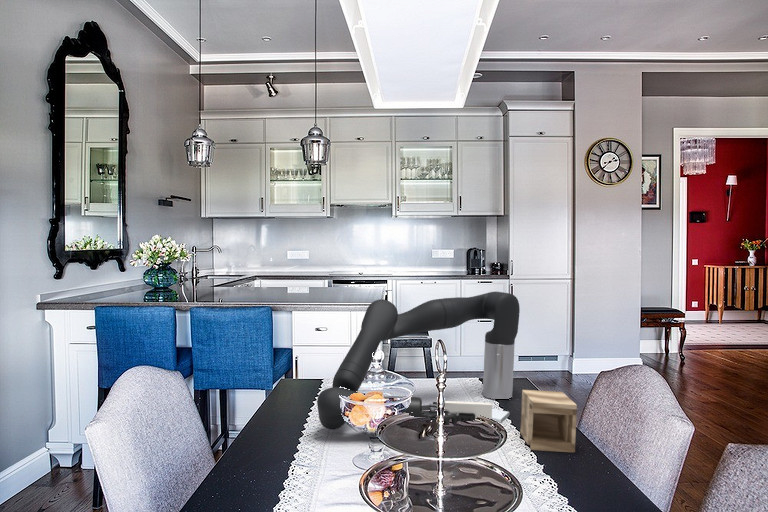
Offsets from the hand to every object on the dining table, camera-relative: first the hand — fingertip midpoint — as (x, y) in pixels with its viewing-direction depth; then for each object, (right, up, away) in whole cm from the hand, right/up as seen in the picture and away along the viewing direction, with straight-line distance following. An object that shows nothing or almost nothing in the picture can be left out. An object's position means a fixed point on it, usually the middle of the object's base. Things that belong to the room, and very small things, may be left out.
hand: (474, 417), depth 120 cm
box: (+18, -7, +3) cm, 20 cm away
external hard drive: (+7, -7, +22) cm, 24 cm away
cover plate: (-2, -6, 0) cm, 6 cm away
